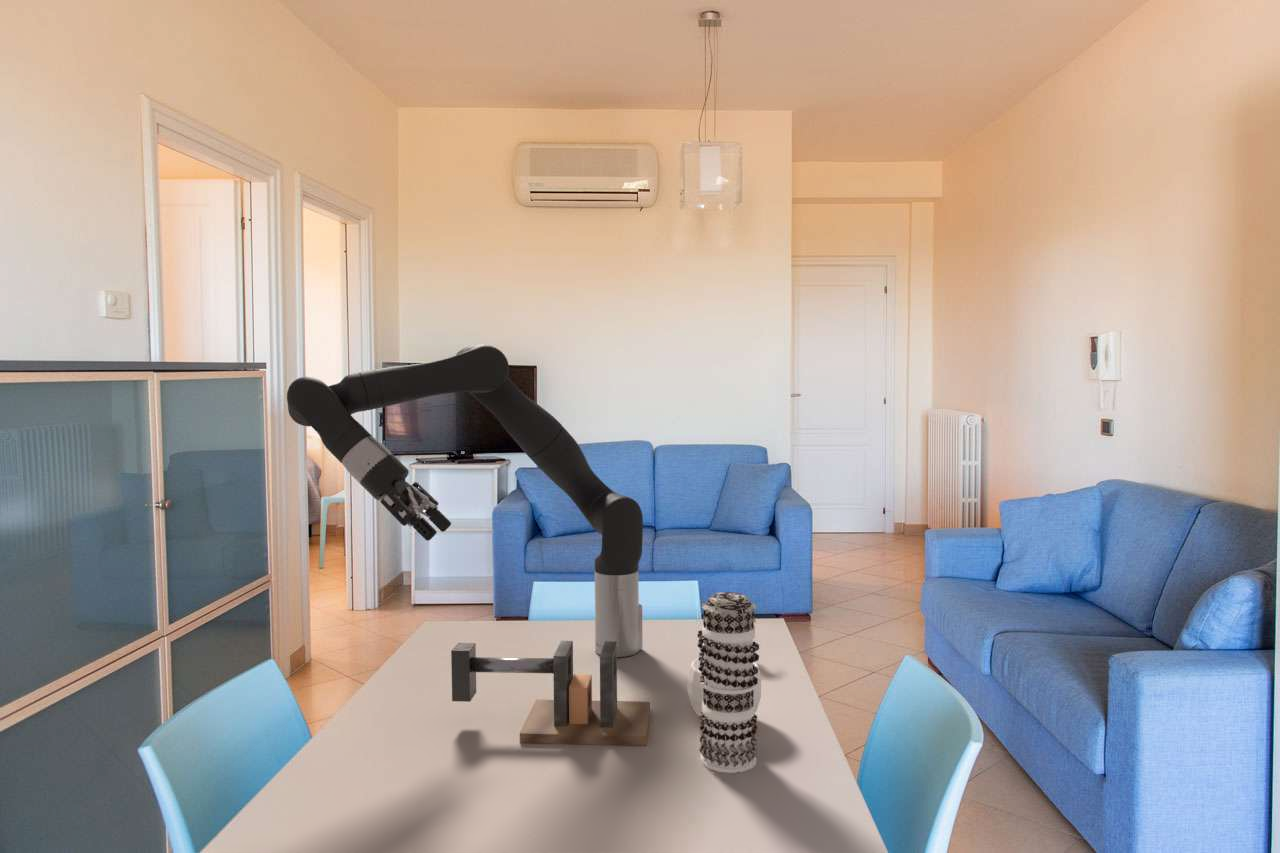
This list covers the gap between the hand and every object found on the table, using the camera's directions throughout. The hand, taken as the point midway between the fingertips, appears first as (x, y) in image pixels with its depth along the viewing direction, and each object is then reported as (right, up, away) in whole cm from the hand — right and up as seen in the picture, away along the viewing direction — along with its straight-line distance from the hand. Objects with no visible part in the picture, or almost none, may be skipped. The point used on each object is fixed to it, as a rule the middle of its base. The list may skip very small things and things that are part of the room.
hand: (440, 532), depth 146 cm
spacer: (+25, -29, -8) cm, 40 cm away
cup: (+49, -31, -7) cm, 59 cm away
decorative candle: (+48, -32, -21) cm, 62 cm away
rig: (+27, -31, -8) cm, 42 cm away
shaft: (+13, -26, -8) cm, 31 cm away
